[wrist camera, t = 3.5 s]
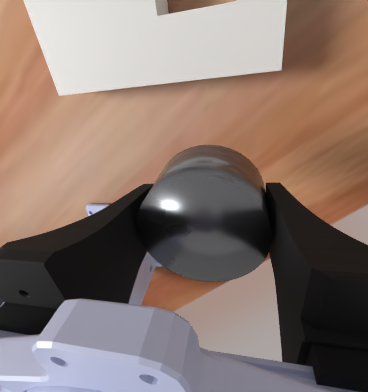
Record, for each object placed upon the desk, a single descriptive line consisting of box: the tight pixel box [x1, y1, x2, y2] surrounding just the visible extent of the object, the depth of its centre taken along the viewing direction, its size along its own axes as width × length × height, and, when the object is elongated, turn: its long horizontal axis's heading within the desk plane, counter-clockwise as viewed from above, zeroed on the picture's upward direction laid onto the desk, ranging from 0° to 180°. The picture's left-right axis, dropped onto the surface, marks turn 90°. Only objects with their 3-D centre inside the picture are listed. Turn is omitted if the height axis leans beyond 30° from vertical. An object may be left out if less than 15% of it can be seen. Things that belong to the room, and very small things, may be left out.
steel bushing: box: [137, 145, 272, 282], centre depth 12 cm, size 6×6×6 cm
